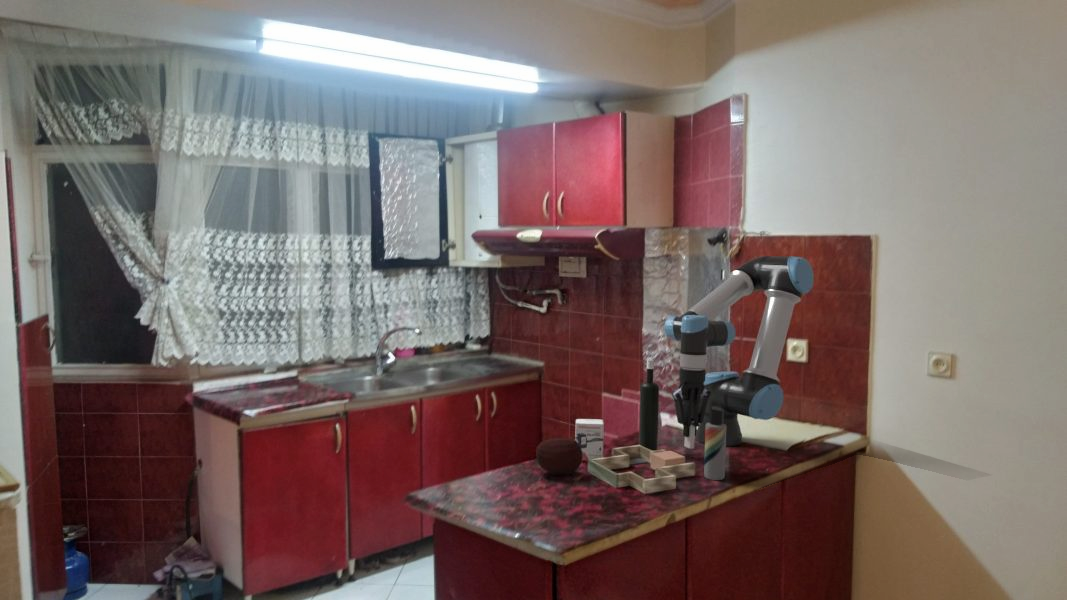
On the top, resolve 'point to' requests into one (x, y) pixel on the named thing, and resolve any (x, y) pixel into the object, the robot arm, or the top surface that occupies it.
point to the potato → (559, 455)
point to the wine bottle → (649, 410)
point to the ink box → (590, 438)
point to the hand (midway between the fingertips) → (689, 447)
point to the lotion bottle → (715, 445)
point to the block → (666, 459)
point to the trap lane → (632, 456)
